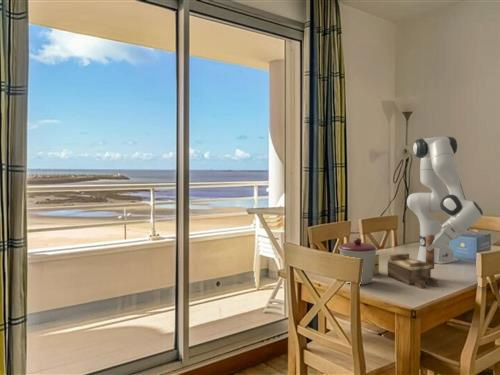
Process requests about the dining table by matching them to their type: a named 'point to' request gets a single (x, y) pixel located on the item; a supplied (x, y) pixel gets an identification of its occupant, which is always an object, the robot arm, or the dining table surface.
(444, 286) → the dining table surface
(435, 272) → the dining table surface
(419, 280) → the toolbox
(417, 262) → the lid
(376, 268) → the puzzle cube
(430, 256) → the reddish brown cylinder
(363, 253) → the canister
